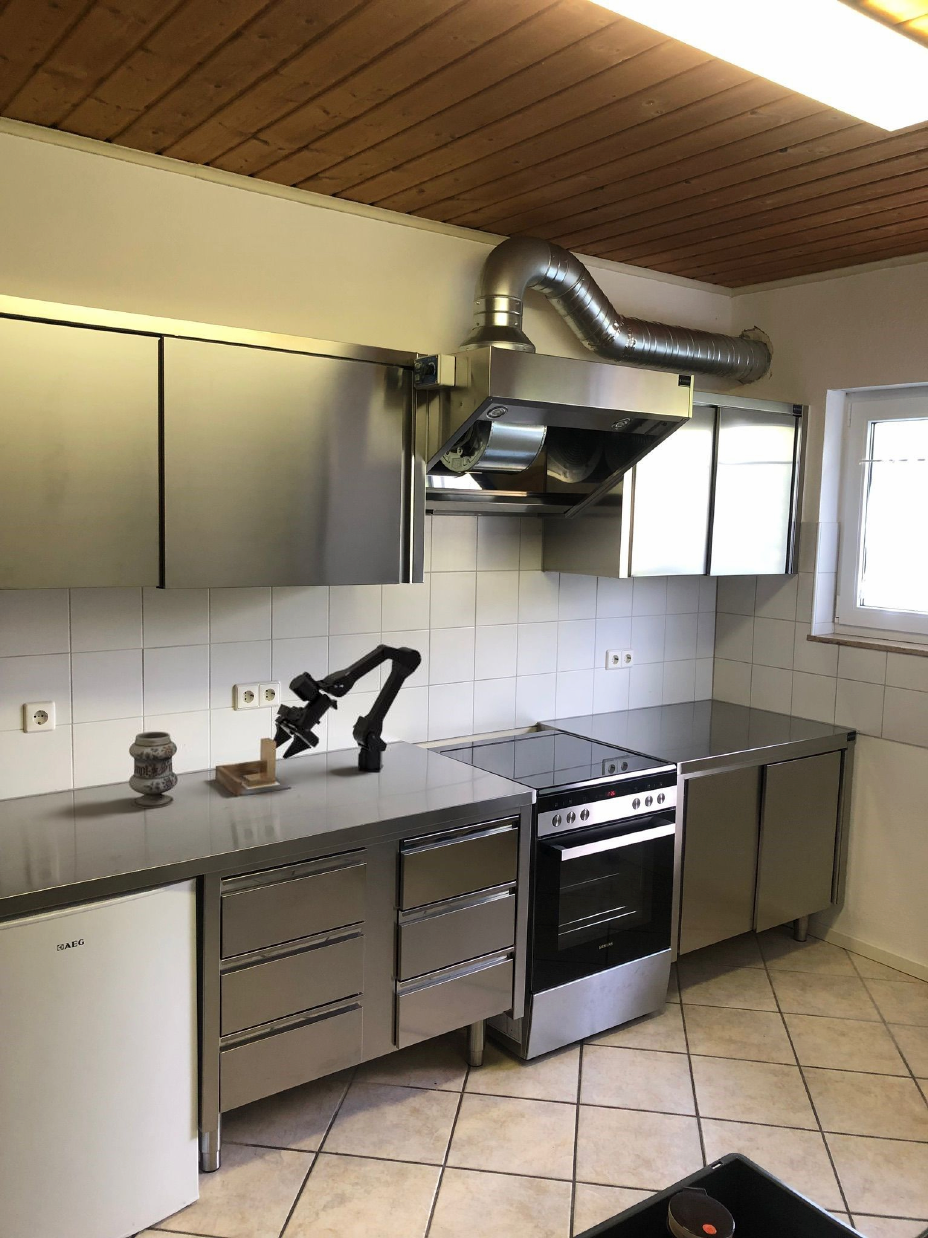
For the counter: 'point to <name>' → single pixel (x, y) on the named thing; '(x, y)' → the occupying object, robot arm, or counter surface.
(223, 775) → the corner walls
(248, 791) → the mat
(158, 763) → the apothecary jar
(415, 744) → the counter surface
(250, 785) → the wooden l-shaped block
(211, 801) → the counter surface
